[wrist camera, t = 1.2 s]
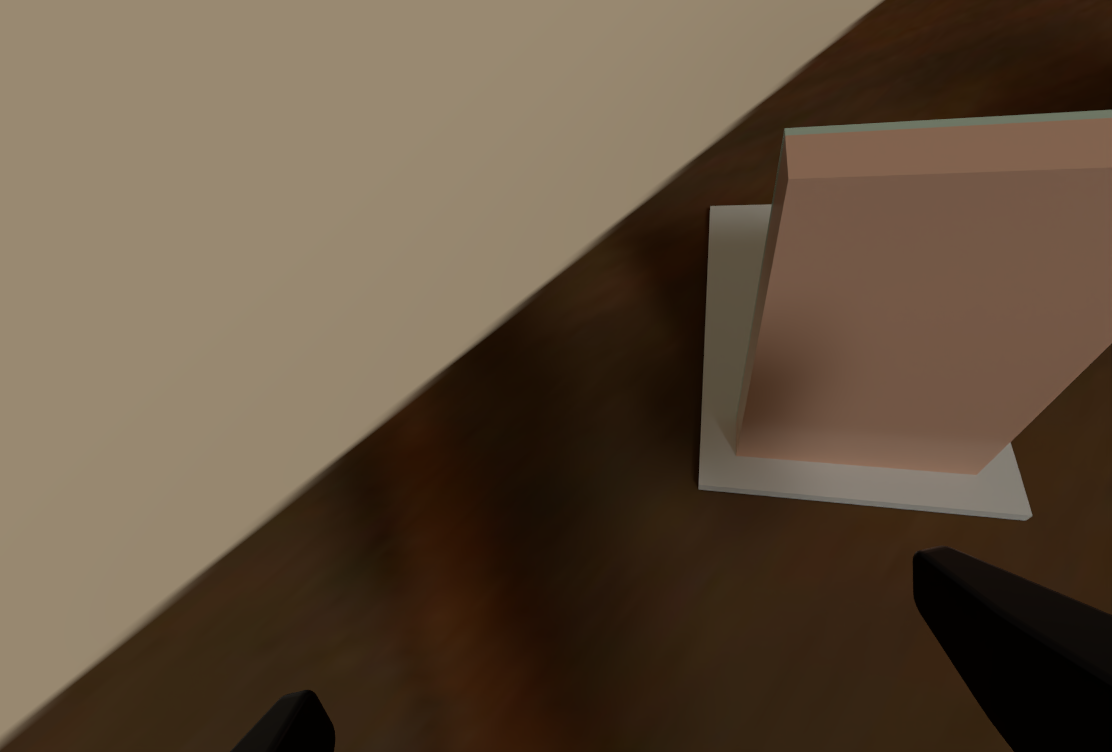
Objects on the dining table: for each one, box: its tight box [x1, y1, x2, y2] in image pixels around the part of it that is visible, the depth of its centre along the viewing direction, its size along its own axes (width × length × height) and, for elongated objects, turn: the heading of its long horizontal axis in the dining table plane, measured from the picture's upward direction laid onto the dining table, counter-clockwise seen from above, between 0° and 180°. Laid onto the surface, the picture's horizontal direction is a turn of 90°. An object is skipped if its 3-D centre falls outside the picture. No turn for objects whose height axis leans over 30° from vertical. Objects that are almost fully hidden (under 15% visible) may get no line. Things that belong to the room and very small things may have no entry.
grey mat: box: [698, 205, 1032, 521], centre depth 27 cm, size 12×18×1 cm, turn 170°
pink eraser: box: [736, 110, 1112, 475], centre depth 18 cm, size 9×2×14 cm, turn 80°
